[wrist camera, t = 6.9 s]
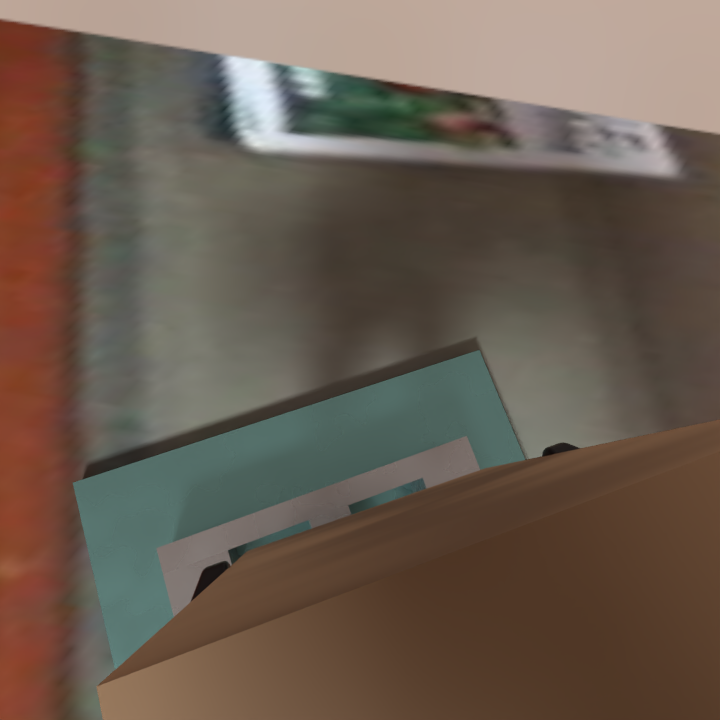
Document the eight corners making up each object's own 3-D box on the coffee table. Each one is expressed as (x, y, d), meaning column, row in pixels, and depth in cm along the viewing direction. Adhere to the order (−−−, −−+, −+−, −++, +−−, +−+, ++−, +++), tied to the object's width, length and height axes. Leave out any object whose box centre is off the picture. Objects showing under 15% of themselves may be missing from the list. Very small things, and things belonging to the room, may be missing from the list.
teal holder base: (473, 354, 25) (499, 332, 22) (580, 611, 23) (626, 628, 19) (80, 483, 21) (44, 479, 18) (154, 805, 19) (126, 866, 16)
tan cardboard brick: (445, 476, 16) (907, 380, 4) (480, 573, 16) (1163, 817, 3) (258, 541, 15) (95, 688, 3) (287, 648, 15) (239, 1442, 2)
